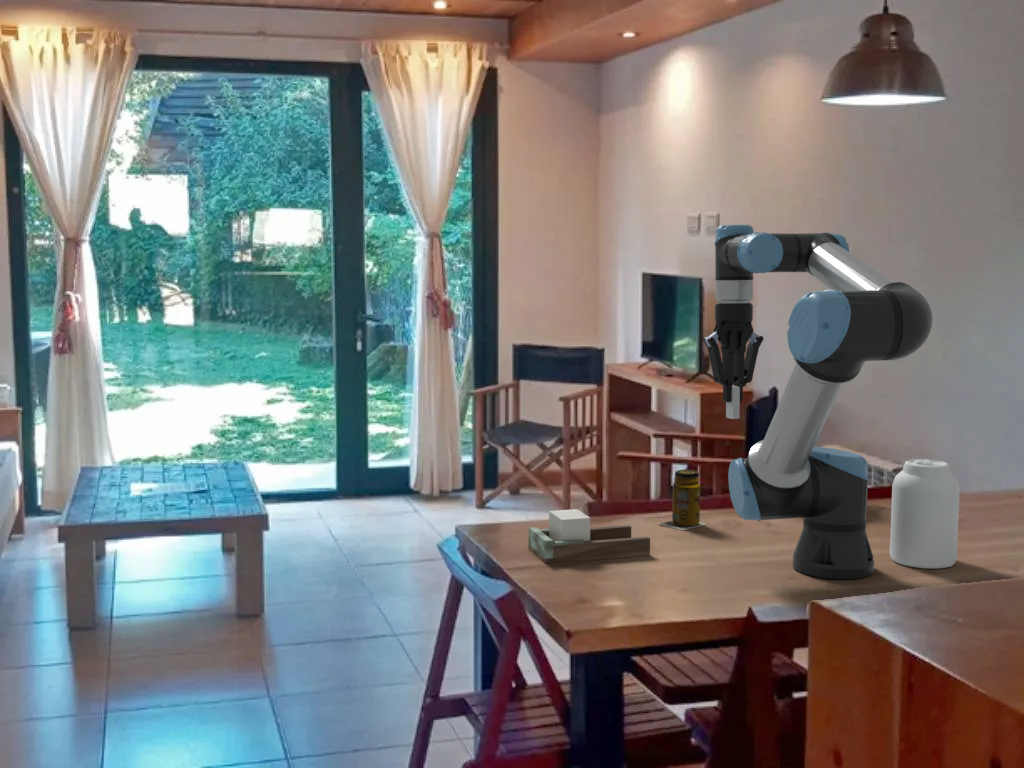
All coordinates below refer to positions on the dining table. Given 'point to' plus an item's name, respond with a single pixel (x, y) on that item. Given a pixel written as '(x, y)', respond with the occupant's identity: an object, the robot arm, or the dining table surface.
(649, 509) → the dining table surface
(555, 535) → the cream block
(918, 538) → the can
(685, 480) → the condiment
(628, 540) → the walnut chute
